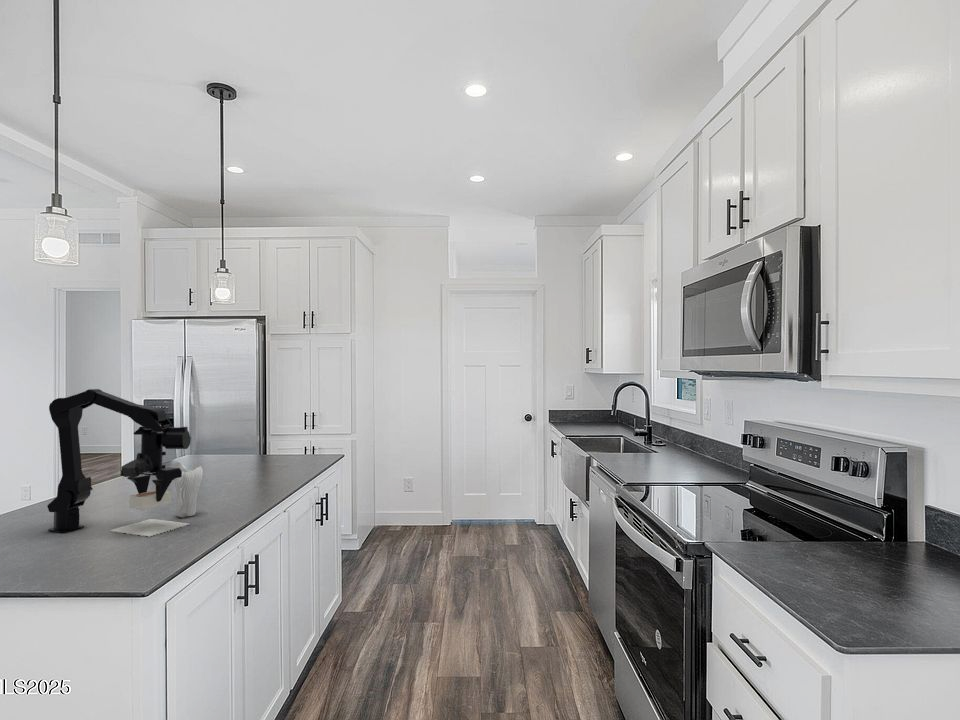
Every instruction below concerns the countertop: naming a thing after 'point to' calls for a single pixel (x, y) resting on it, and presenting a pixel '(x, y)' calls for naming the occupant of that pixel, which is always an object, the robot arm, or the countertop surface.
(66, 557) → the countertop surface
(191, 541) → the countertop surface
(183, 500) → the shell sculpture
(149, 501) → the card box
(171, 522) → the mat
